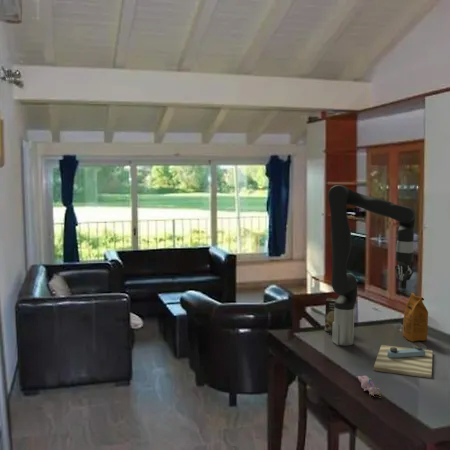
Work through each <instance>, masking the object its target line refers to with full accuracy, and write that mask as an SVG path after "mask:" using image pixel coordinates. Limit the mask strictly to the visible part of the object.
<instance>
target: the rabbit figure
mask: <svg viewBox="0 0 450 450" xmlns="http://www.w3.org/2000/svg"><path fill="white" fill-rule="evenodd" d="M357 378H358V381H359V382H360V384H361V385H360V387H361V388H362V389H363V391H364V392H365V391H368V393H369V394H368V395H370V394H371V395H373V396H374V394H377V395H379V396H381V397H382V395H381V393H380V390H381V389H380V388H379V387H375V384H374V382H373V378H370V377H369V376H368V375H357ZM374 397H375V396H374Z"/></svg>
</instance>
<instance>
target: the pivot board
mask: <svg viewBox="0 0 450 450" xmlns="http://www.w3.org/2000/svg"><path fill="white" fill-rule="evenodd" d="M402 349H412V347H411V348H410V347H405V346H404V347H403V346H395V345H387V344H386V345H385V344H381V345H380V348H379V350H378V353H377V356H376V358H375V359H376V360H375V362H374V365H373V371H374V372H375V371H376V372H383V373H389V374H390V373H392V374H397V375H405V376H406V375H407V376H413V377H420V378H428V379H432V375H433V374H432V372H433V371H432V369H433V353H434V352H433V350H429V349H423V350H424V351H425V356H413V357H400V358H390V357H388V356H387V353H388V350H390V351H391V352H397V350H402Z"/></svg>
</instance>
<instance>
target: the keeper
mask: <svg viewBox="0 0 450 450" xmlns="http://www.w3.org/2000/svg"><path fill="white" fill-rule="evenodd" d="M410 345H411V348H412V349H416V348H417V349H423V350H425V349H427V345H425V344H423V343H422V342H420V341H414V342H412V341H410Z"/></svg>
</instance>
